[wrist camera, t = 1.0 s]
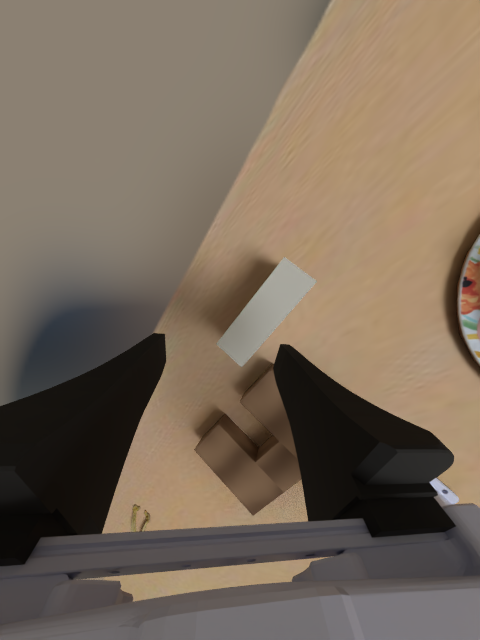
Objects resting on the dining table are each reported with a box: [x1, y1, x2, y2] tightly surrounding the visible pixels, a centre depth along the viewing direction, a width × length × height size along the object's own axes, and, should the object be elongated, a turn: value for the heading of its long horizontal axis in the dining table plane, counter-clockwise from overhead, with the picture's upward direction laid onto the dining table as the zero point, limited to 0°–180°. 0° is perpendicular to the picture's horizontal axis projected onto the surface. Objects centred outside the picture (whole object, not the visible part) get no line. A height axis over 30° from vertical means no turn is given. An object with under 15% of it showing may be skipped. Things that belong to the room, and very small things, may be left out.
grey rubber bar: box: [217, 257, 317, 367], centre depth 21 cm, size 4×12×6 cm, turn 141°
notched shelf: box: [194, 364, 301, 515], centre depth 24 cm, size 12×18×2 cm, turn 140°
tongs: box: [131, 505, 150, 532], centre depth 35 cm, size 4×13×2 cm, turn 171°
